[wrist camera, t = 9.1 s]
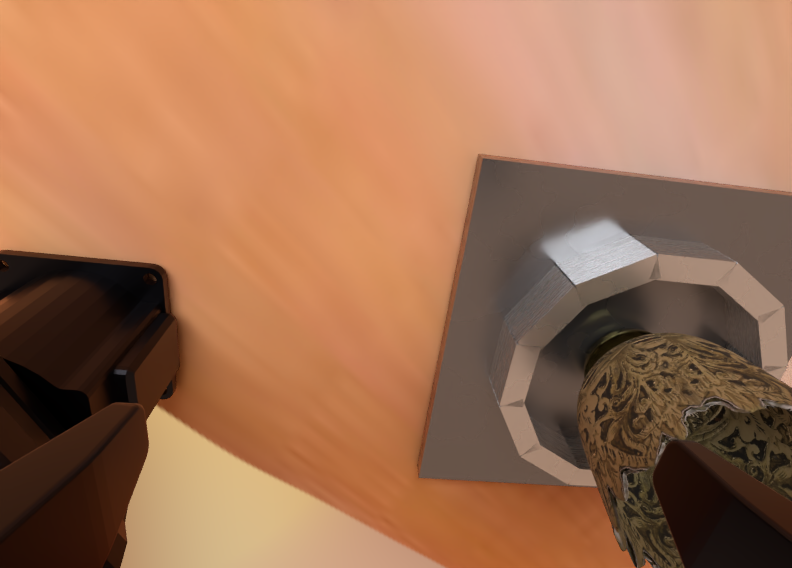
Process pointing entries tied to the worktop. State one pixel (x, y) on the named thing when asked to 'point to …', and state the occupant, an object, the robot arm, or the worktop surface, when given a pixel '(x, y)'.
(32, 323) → the robot arm
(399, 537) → the worktop surface
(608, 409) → the cup
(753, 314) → the cup bracket
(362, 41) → the worktop surface
